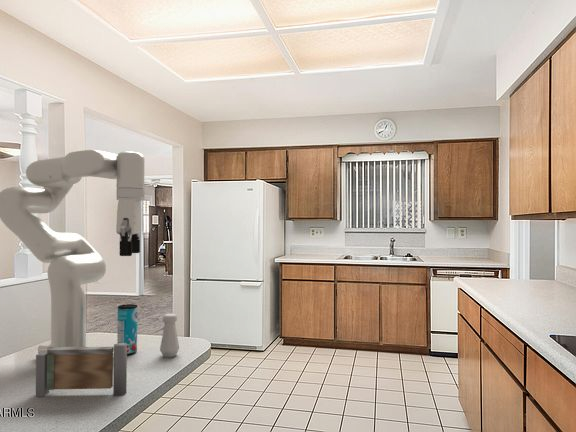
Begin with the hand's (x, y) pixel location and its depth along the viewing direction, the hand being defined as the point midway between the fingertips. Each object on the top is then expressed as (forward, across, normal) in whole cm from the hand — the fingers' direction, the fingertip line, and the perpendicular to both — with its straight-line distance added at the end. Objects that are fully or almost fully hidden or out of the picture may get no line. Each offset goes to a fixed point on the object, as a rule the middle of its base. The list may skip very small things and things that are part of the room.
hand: (130, 254), depth 121 cm
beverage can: (+33, -14, -4) cm, 36 cm away
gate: (+31, +17, -7) cm, 36 cm away
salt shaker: (+33, -10, +10) cm, 36 cm away
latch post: (+33, +16, -16) cm, 40 cm away
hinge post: (+33, +18, +2) cm, 37 cm away
